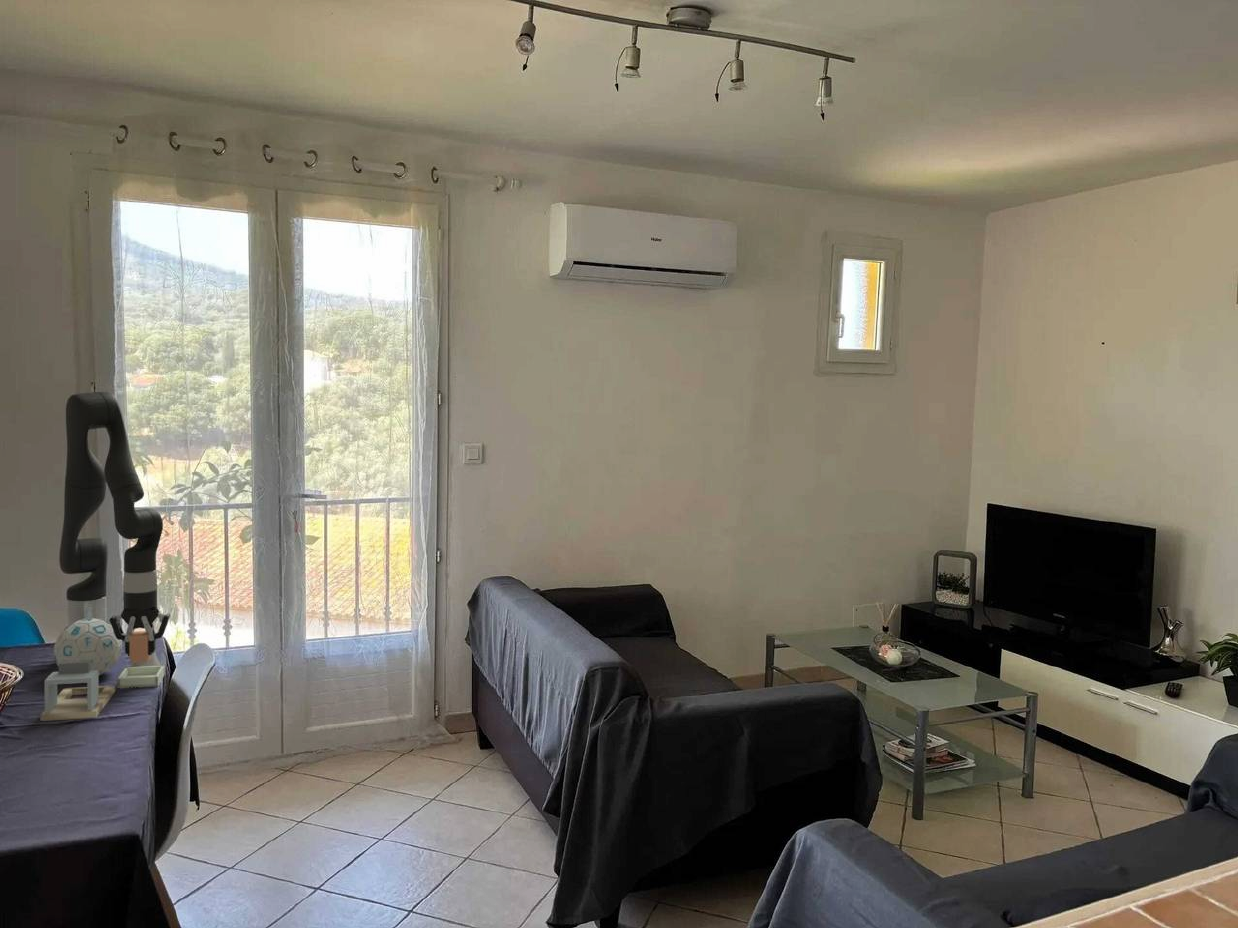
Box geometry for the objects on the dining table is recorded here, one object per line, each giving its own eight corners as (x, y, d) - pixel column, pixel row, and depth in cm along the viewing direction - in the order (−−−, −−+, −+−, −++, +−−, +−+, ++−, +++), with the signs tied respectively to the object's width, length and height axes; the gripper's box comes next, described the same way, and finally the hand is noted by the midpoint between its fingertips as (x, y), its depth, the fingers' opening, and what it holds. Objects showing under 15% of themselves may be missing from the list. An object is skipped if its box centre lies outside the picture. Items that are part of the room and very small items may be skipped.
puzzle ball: (135, 669, 231) (135, 614, 230) (95, 688, 216) (94, 629, 215) (82, 665, 233) (81, 610, 232) (39, 683, 218) (38, 625, 217)
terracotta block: (133, 658, 223) (133, 631, 222) (150, 657, 224) (150, 630, 223) (129, 663, 219) (129, 635, 218) (147, 662, 220) (147, 635, 220)
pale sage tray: (125, 676, 225) (125, 667, 225) (164, 674, 228) (164, 665, 228) (117, 688, 217) (117, 678, 217) (157, 686, 220) (157, 676, 219)
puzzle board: (64, 694, 212) (64, 688, 211) (115, 691, 215) (115, 685, 215) (40, 721, 195) (40, 714, 195) (96, 717, 198) (96, 711, 198)
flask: (124, 670, 230) (123, 633, 229) (149, 663, 237) (149, 627, 236) (141, 675, 227) (141, 638, 226) (167, 668, 233) (166, 631, 232)
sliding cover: (53, 703, 201) (52, 661, 200) (98, 700, 204) (98, 659, 203) (44, 713, 195) (44, 669, 194) (91, 710, 198) (91, 667, 197)
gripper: (104, 592, 215) (104, 660, 216) (168, 590, 219) (168, 657, 220) (112, 585, 222) (112, 651, 223) (174, 584, 226) (174, 649, 227)
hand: (140, 654), depth 221 cm, fingers closed on terracotta block, 4 cm apart
